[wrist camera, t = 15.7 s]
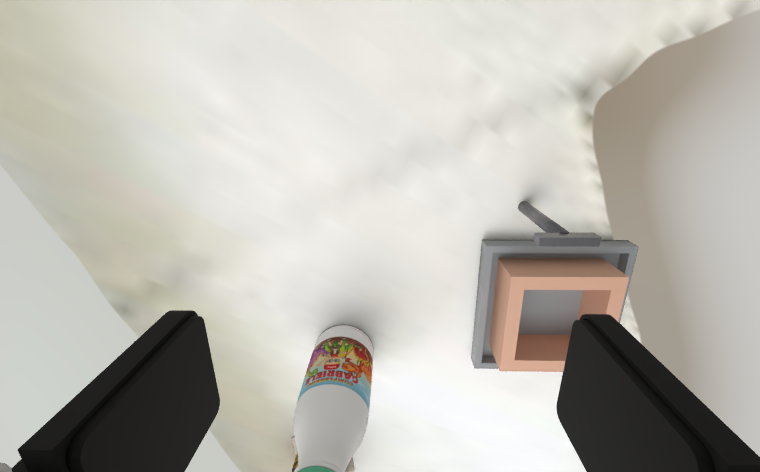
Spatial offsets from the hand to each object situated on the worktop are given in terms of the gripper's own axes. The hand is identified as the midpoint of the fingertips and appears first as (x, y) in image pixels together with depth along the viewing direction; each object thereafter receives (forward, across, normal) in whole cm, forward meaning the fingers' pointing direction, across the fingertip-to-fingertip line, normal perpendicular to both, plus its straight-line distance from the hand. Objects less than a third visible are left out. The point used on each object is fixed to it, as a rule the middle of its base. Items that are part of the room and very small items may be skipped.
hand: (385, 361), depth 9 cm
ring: (+32, -19, +17) cm, 40 cm away
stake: (+32, -15, +5) cm, 36 cm away
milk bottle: (+32, +6, +24) cm, 41 cm away
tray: (+32, -19, +17) cm, 41 cm away
